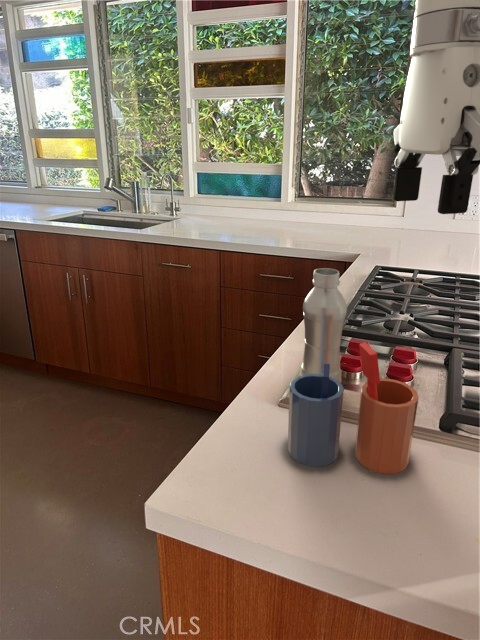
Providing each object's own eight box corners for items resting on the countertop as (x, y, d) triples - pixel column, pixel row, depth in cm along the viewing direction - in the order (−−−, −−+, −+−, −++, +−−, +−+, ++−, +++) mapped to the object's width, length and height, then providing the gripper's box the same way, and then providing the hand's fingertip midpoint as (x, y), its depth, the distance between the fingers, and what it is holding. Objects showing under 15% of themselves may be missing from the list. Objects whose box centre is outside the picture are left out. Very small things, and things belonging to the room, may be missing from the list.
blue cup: (327, 435, 63) (331, 371, 60) (345, 466, 58) (351, 397, 54) (282, 441, 62) (283, 376, 58) (296, 473, 56) (299, 403, 53)
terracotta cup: (391, 441, 62) (400, 376, 58) (417, 473, 56) (429, 403, 52) (346, 447, 61) (352, 381, 57) (368, 481, 55) (376, 410, 51)
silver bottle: (320, 378, 78) (326, 262, 70) (349, 395, 73) (360, 273, 65) (290, 389, 75) (293, 269, 67) (318, 408, 69) (325, 281, 62)
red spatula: (378, 447, 60) (366, 341, 53) (389, 463, 57) (378, 353, 50) (371, 450, 60) (357, 343, 53) (382, 465, 57) (369, 355, 50)
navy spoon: (325, 440, 61) (330, 363, 54) (324, 454, 59) (330, 377, 52) (318, 439, 61) (323, 363, 54) (317, 453, 59) (321, 376, 52)
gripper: (547, 20, 41) (507, 217, 47) (435, 51, 56) (416, 195, 63) (471, 18, 39) (440, 221, 46) (377, 50, 55) (364, 198, 62)
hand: (426, 206), depth 54 cm, fingers open, 9 cm apart
